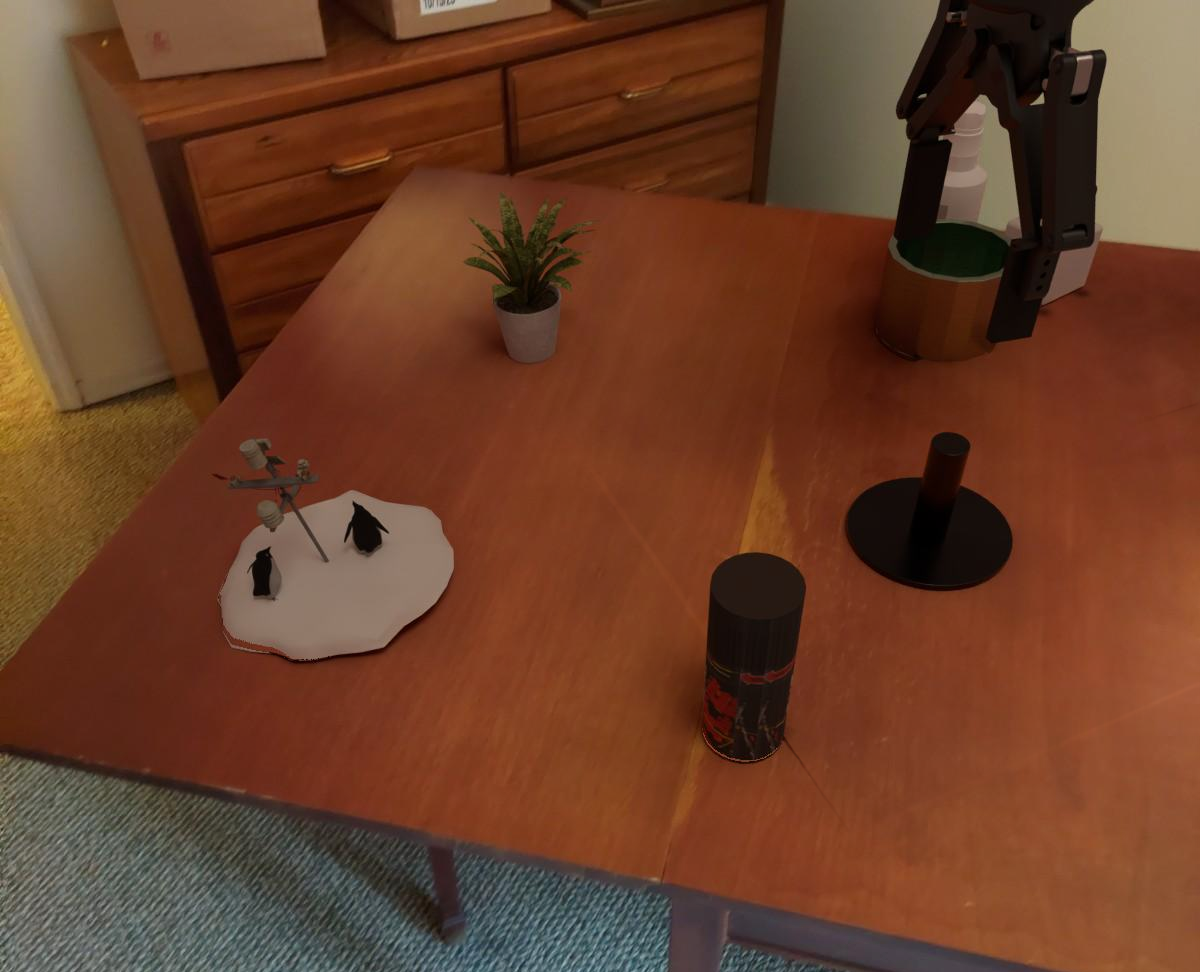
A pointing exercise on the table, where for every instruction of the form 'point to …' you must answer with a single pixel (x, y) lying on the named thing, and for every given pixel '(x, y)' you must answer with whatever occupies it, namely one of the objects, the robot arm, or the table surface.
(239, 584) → the figurine
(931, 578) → the tin lid
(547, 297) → the house plant
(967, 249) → the tin
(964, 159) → the spray bottle
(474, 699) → the table surface
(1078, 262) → the medicine bottle
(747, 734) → the deodorant
